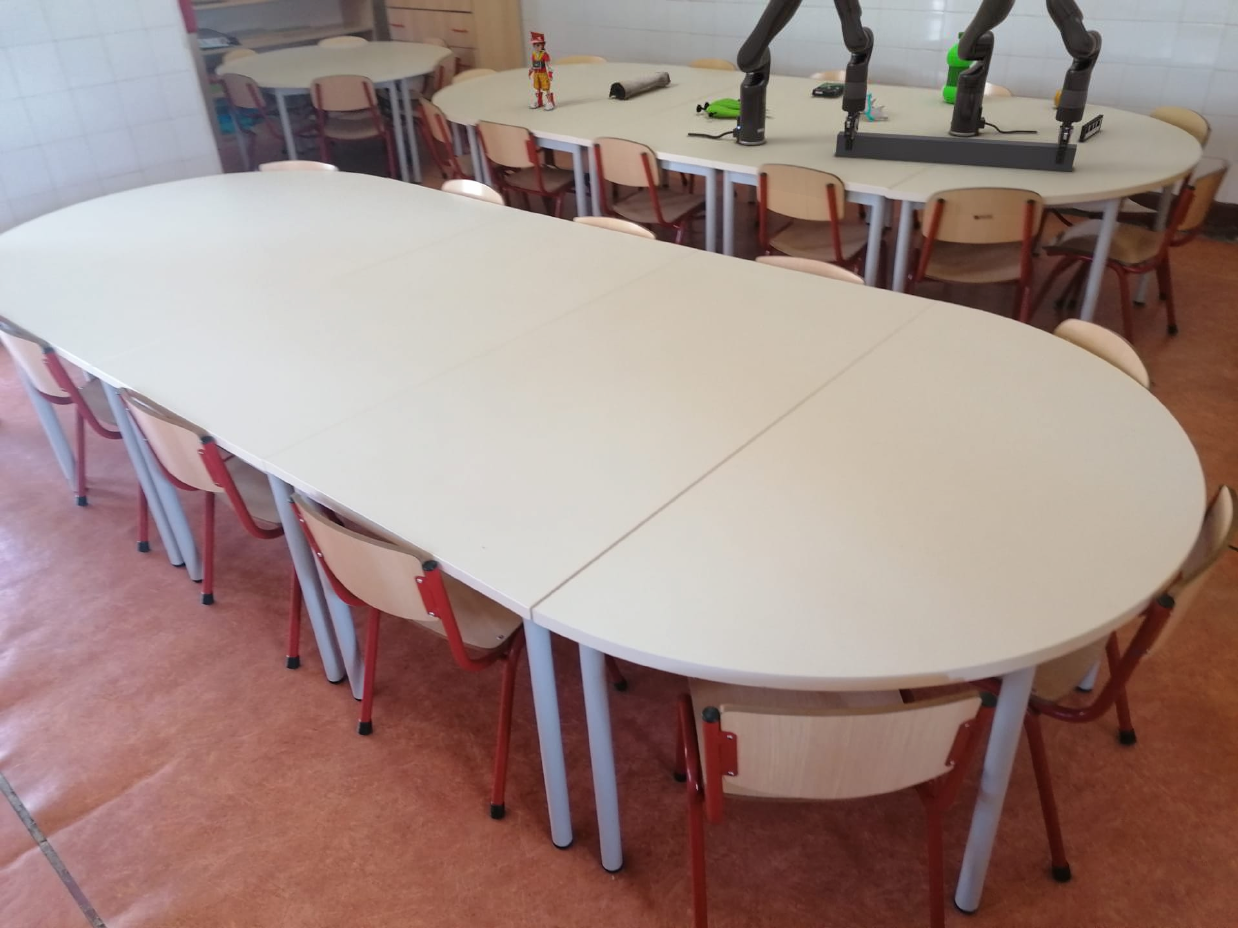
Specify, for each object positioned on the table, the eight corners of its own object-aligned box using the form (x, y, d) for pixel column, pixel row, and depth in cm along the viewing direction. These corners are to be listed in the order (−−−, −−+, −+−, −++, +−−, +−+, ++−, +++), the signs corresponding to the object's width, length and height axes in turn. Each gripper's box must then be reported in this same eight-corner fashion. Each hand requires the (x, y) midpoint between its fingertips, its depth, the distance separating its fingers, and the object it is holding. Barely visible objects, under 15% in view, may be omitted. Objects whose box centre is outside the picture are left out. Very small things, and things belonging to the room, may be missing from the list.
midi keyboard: (1082, 141, 303) (1086, 126, 300) (1078, 141, 304) (1082, 126, 301) (1100, 129, 313) (1103, 115, 310) (1096, 129, 314) (1100, 114, 311)
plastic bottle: (973, 101, 354) (984, 32, 339) (955, 106, 349) (966, 36, 335) (952, 97, 361) (962, 29, 346) (934, 102, 356) (944, 33, 342)
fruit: (1050, 100, 335) (1065, 80, 332) (1048, 104, 343) (1063, 84, 340) (1069, 112, 334) (1085, 93, 331) (1067, 116, 342) (1082, 96, 339)
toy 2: (686, 116, 353) (756, 128, 340) (688, 102, 350) (757, 114, 337) (718, 105, 373) (784, 117, 360) (719, 92, 370) (786, 103, 358)
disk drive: (835, 99, 369) (848, 90, 379) (836, 91, 367) (848, 83, 378) (811, 97, 374) (824, 88, 384) (812, 90, 372) (825, 81, 382)
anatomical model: (850, 90, 344) (876, 83, 344) (852, 117, 350) (878, 110, 349) (861, 99, 332) (888, 92, 331) (864, 127, 338) (890, 120, 337)
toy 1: (525, 109, 381) (517, 32, 364) (534, 104, 388) (527, 28, 371) (550, 110, 377) (543, 32, 360) (559, 105, 384) (553, 28, 367)
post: (1071, 167, 282) (1077, 144, 278) (1071, 171, 279) (1076, 148, 274) (838, 152, 308) (840, 131, 304) (835, 156, 305) (837, 134, 300)
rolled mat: (651, 76, 408) (662, 61, 399) (662, 93, 408) (674, 79, 400) (605, 92, 391) (616, 77, 383) (617, 110, 391) (628, 95, 383)
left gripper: (847, 89, 300) (843, 141, 310) (838, 99, 290) (834, 153, 299) (870, 90, 298) (865, 143, 307) (862, 100, 287) (856, 154, 297)
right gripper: (1059, 98, 277) (1047, 154, 287) (1057, 109, 267) (1045, 167, 276) (1085, 99, 275) (1072, 155, 284) (1085, 110, 264) (1071, 168, 274)
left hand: (849, 147), depth 303 cm, fingers closed on post, 4 cm apart
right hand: (1059, 161), depth 280 cm, fingers closed on post, 4 cm apart
